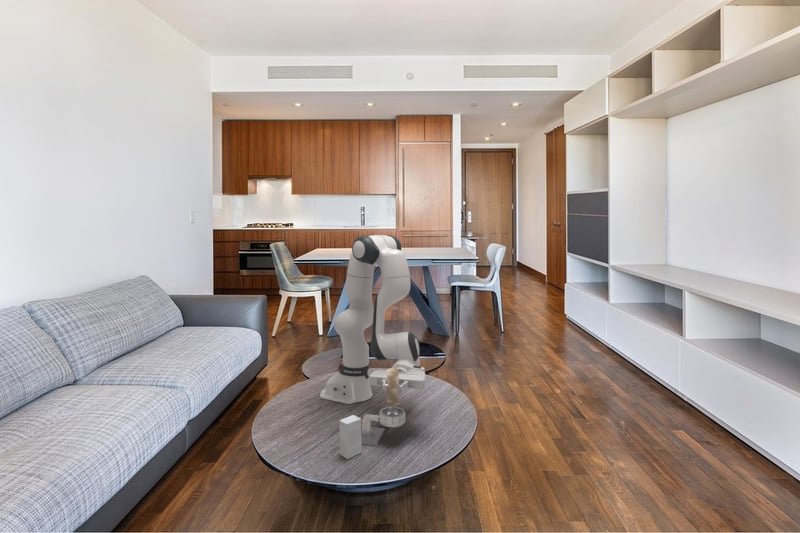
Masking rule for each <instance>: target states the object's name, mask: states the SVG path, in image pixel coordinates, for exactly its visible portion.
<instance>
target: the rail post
mask: <svg viewBox="0 0 800 533" xmlns="http://www.w3.org/2000/svg"><path fill="white" fill-rule="evenodd" d="M386 370H387V389H386V401H387V402H386V403H387V406H388V407H391V406H394V407H398V406H399V405H400V391H399V390H398V385H399V369H397V368H392V367H391V368H389V367H388V368H387V369H386Z"/></svg>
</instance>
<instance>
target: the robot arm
mask: <svg viewBox="0 0 800 533" xmlns="http://www.w3.org/2000/svg"><path fill="white" fill-rule="evenodd" d="M351 246H352V247H351V253H350V256H349V260H348V263H347V271H346V279H345V280H346V281H345V294H346V295H347V297H348V298H347V299H348V303H349V304H348V308H347V309H344V310H342V311H341V312H340V313H339V314H338V315H337V316H336V317H335V319H334V322H333V328H334V331H336V332H335V333H336V334H338V336H339V338H340V341H341V345H342V346H341V347H342V361H341V362H340V364H339V365H338V366H337V371H338V372H336V373H335V374H334V375H332V376H331V377H330V378H329V379H327V381H326V384H325V387H324V388H323V389H322V390H321V391H320V394H319V398H320V399H323V400H328V401H333V402H336V403H342V404H346V405H352V404H355V403H361V402H366V401H368V400H370V399H372V397H373V396H374V395H373V391H372V387H371V386H375V387H382V390H387V369H377V370H374V371H373V372H372V373H371V364H370V353H371V355H372V357H373V358H374V359H376V360H378V361H387V360H391V359H397V360H396V362H395V363H394V364H393V365H392V367H391V368H397V369H399V385H398V390H399V392H400V391H401V392H402V391H404V390H406V389H408V390H409V389H411V390H422V391H423V390H425V388H426V370H425V367H423V366H420V363H421V361H420V355H421V348H420V347H421V346H420V342H419V339H418V338H417V336H416V335H415V334H414V333H413V332H411V331H403V332H395V333H394V332H393V333H385V324H386V323H385V321H386V320H385V319H386V318H385V317H386V312H387V310H388V308H390V307H391V306H392V305H394V304H396V303H398V302H400V301H401V300H403V299H405V298H406V297H407V296H408V294H409V293H410V291H411V286H412V285H411V274H410V268H409V264H408V261H407V260H408V259H407V257H406V255H405V253H404V251H403V250H402V243H401V241H400V240H399V238H397V237H396V236H393V235H387V234H386V235H385V234H374V235H363V236H359V237H357V238H355V239H354V241H353V242H352V245H351ZM375 265H377V266H378V267H379V269H380V273H381V274H380V275H381V287H380V289H379V292H378V293H376V294H375V297H374V302H373V286H374V285H373V284H374V272H375V267H376V266H375ZM371 326H372V332H371V339H370V346H369V344H368V343H367V342H366V338H365V330H366V329H368V328H370V327H371Z"/></svg>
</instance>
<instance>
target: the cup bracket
mask: <svg viewBox="0 0 800 533" xmlns="http://www.w3.org/2000/svg"><path fill="white" fill-rule="evenodd" d="M374 422H379V425H381V426H383V427H385V428H383V427H382V428H381V427H374ZM405 424H406V411H405V409H404V408H402V407H399V406H385V407H383V408H381V409H380V410H379V415H378V414H371V413H370V414H368V413H365V415H364V416H363V418H361V445H365V446H372V447H373V446H375V447H378V445H379V443H380V442H381V441H382V439H383V437H384V435H385V433H386V428H399V427H402V426H404V425H405Z"/></svg>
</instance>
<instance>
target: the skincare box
mask: <svg viewBox="0 0 800 533" xmlns="http://www.w3.org/2000/svg"><path fill="white" fill-rule="evenodd" d="M338 421H339V454H340V456H341V457H343V458H345V459H346V460H349V459H351V458H354V457H355V456H357V455H360V454H361V453H362V452H363V451H362V444H361V426H362V418H360V417H358V416H356V415H354V414H352V415H349V416H347V417H344V418H342V419H339V420H338Z"/></svg>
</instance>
